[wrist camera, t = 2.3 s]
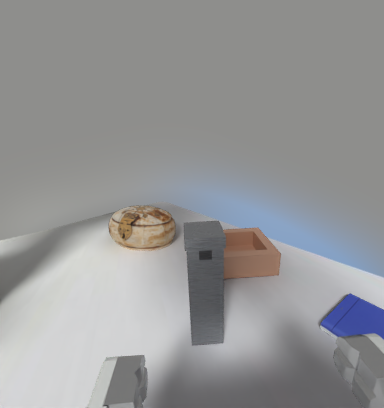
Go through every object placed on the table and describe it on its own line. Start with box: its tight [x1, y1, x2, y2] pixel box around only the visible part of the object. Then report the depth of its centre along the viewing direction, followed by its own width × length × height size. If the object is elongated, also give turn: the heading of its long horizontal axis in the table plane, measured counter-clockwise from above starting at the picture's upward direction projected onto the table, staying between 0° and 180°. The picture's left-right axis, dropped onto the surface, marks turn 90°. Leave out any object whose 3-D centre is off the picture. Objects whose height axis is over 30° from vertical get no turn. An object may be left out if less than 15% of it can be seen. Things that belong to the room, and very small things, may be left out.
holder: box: [223, 228, 281, 279], centre depth 37 cm, size 10×10×4 cm
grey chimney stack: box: [184, 221, 226, 345], centre depth 22 cm, size 4×4×13 cm
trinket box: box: [109, 206, 176, 251], centre depth 47 cm, size 13×15×8 cm
